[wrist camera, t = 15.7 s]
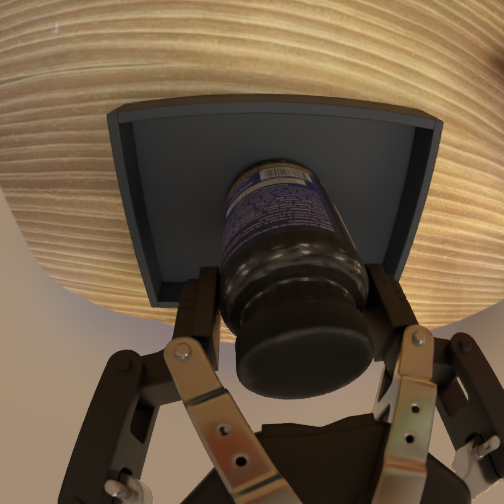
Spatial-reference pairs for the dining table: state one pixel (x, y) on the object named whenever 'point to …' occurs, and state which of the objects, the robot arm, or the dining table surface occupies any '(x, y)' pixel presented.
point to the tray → (260, 150)
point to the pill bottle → (291, 285)
